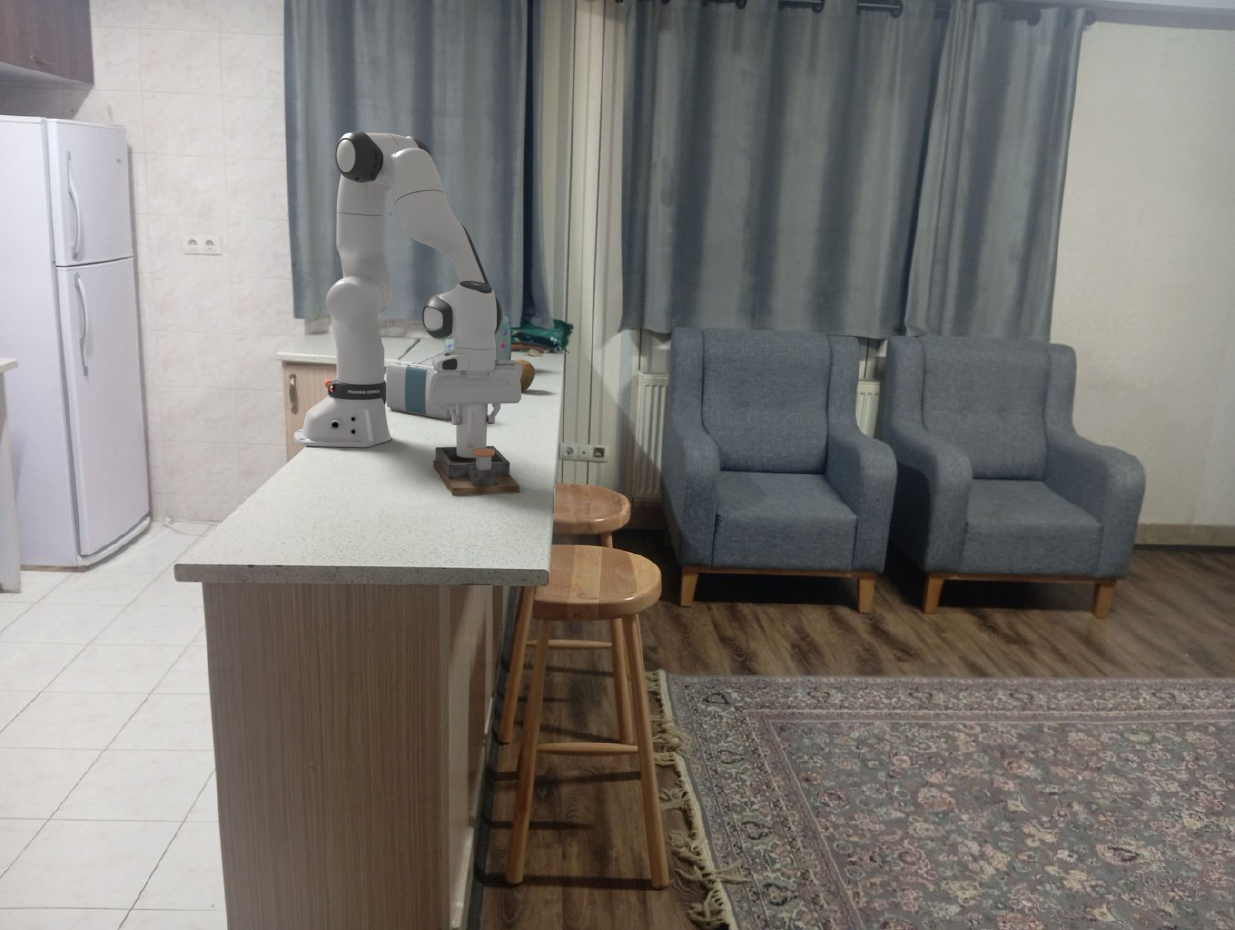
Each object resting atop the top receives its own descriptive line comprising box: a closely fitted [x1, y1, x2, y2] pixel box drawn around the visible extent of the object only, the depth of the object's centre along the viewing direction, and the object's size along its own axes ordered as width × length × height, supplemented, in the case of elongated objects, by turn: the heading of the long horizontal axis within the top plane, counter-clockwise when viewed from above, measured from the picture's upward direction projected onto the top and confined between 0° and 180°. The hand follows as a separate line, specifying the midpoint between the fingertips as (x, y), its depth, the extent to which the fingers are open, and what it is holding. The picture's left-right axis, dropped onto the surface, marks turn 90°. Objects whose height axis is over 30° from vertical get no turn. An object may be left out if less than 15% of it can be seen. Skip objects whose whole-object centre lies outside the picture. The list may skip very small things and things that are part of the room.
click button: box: [473, 448, 495, 470], centre depth 208 cm, size 4×4×5 cm
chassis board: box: [432, 445, 521, 496], centre depth 216 cm, size 14×22×4 cm, turn 20°
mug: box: [455, 404, 489, 458], centre depth 217 cm, size 10×7×12 cm, turn 3°
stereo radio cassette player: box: [385, 347, 456, 421], centre depth 273 cm, size 21×8×20 cm, turn 62°
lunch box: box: [443, 312, 512, 360], centre depth 341 cm, size 27×10×21 cm, turn 148°
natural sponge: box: [515, 359, 536, 393], centre depth 315 cm, size 9×9×10 cm
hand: (473, 424), depth 216 cm, fingers closed on mug, 6 cm apart
